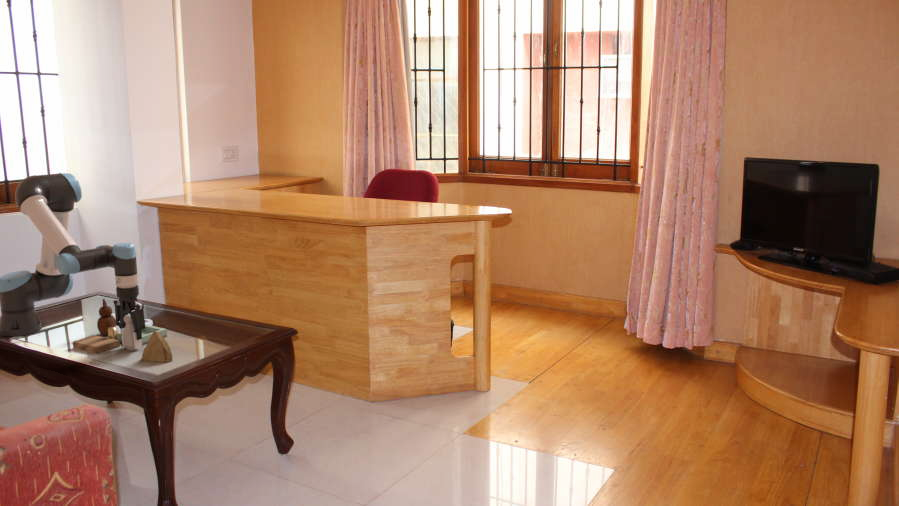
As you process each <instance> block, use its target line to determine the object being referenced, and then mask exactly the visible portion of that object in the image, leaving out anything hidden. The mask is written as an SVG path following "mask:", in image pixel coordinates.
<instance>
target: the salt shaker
mask: <svg viewBox="0 0 899 506" xmlns="http://www.w3.org/2000/svg"><path fill="white" fill-rule="evenodd" d="M124 322H126V326H125V335H124V343H123V344H124V346H123V347H125V350H126V351H137V350H138V349H139V348H137V349H135V348H134V336H133V331H135V330H134V326H133V323H132V319H131V316H130V314H128V315H125V316H124Z"/></svg>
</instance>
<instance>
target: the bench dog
mask: <svg viewBox="0 0 899 506" xmlns="http://www.w3.org/2000/svg"><path fill="white" fill-rule="evenodd" d="M117 332H118V330H117V326H116V327H109V328H108V336H107V338H110V339H115V340H117Z"/></svg>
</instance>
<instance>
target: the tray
mask: <svg viewBox="0 0 899 506" xmlns="http://www.w3.org/2000/svg"><path fill="white" fill-rule="evenodd" d="M145 327H146V328H145V329H144V330H142V331H141V332H142V339H141V341H142V346H144V345H147V343H148V341H149V339H150V337H151V335H152V334H153V332H154V331H156V332H159V333H160V334H161V335H162V336H163V338H164V339H165V338H167V337H168V331H167V328H162V327H158V326H153V325H149V324H145ZM137 328H138V327H137ZM117 340H119V342H121V343H122V336H121V331H117Z"/></svg>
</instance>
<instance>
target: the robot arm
mask: <svg viewBox="0 0 899 506" xmlns="http://www.w3.org/2000/svg"><path fill="white" fill-rule="evenodd" d="M81 187H82V186H81V185H80V182H79V180H78V179H77V177H76V176H75V175H73V174H72V173H70V172H69V173H68V172H67V173H65V172H64V173H62V172H59V173H52V174H38V175H31V176H27V177H25V178H24V179H22V180H21V181H20V182H18V185H17V187H16V189H15V193H14V199H15V203H16V207H17V208H18V209H19V211H20V212H21V214H23V215H25V216H27V217H28V218H29V219H30V221H31V222H32V224H33V225H34V226H35V227H36V229H37V230H38V232H39V233H40V234H41V236H42V237H41V249H40V251H41V252H40V262H39V263H37V264H36V265H35V271H34V272H31V271H29V270H18V271H17V270H16V271H11V272H9V273H8V272H7V273H6V274H3V275H1V276H0V313H1V314H0V336H3V337H18V336H19V337H20V336H26V335H30V334H33V333H34V334H35V333H37V332H39V331H41V330H42V329H43V327H42V321H41V320H40V317H39V315H38V314H37V311H36V309H35V303H37V302H41V301H47V300H50V299H51V300H52V299H57V298H60V297H64V296H66V295H68V294H70V292H71V291H72V289H73V286H74V278H73V274H74V275H76V274H78V273H82V272H83V273H84V272H88V271H89V272H90V271H95V270H99V269H104V268H113V269H114V276H115V277H114V278H115V286H116V287H115V291H116V292H115V293H116V297H117V298H118V299H115V300H113V304H114V305H113V306H114V314H115V315H114V318H115V320H116V327H119V328H118V329H120V332H121V336H122V342H121V343H122V344H121V345H122V347H125V346H124V344H123V343H124V335H125V326H126V322H124V316H125V315H128V314H130V316H131V319H132V323H133V326H134V330H135V331H133V336H134V348H135V349H137V348H138V349H140V348H142V347H143V345H142V341H141V339H142V332H141V331H142V330H144V329H145V328H146V327H145V325H146V321H145V320H146V319H145V311H144V310H145V309H144V308H145V304H144V302H142V303H140V302H139V300H138V296H139V295H140V292H139V291H140V290H139V285H138V284H139V279H138V278H139V277H138V275H139V274H138V267H137V266H138V265H137V263H138V262H137V252H136V247H135V245H134V244H133V243H132V242H121V243H120V242H119V243H116V244H114V245H112V246H111V245H108V244H107V245H104V244H100V245H98V246H96V247H95V248H91V249H84V250H82V249H81V248H80V247H79V246H78V244H77V243H76V241H75V240H74V239H73V237H72V236H71V235H70V234H69V232H68V227H69V216H70V215H69V214H70V213H71V212H72V211H73V210H74V207H75V203H76V204H77V203H79V202H80V201H81V199H82V196H83V195H82V193H83V192H82V188H81ZM137 327H138V328H137ZM138 349H137V350H138Z"/></svg>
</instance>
